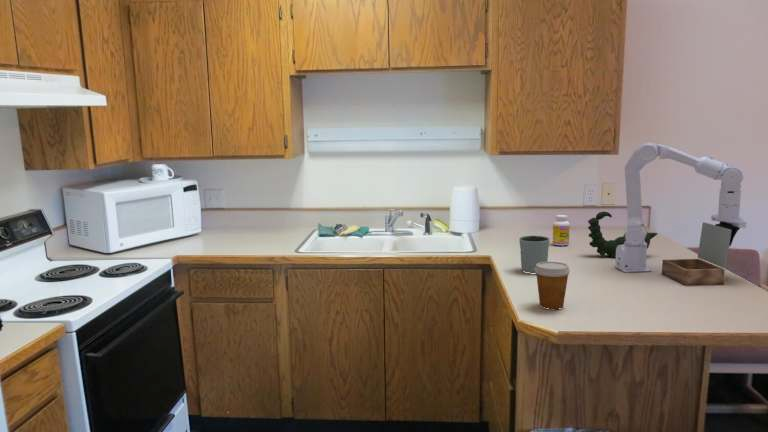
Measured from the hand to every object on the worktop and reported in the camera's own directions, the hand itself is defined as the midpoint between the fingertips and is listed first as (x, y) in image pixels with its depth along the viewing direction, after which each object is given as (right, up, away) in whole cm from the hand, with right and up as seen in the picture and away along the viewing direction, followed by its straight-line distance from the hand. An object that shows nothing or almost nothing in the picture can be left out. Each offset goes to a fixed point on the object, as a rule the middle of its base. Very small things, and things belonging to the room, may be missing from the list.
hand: (726, 246), depth 173 cm
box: (-11, -11, +1) cm, 15 cm away
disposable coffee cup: (-63, -16, -22) cm, 69 cm away
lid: (-5, +1, -1) cm, 5 cm away
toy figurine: (-19, -6, +33) cm, 39 cm away
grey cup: (-58, -10, +16) cm, 61 cm away
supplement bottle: (-35, -3, +56) cm, 66 cm away
